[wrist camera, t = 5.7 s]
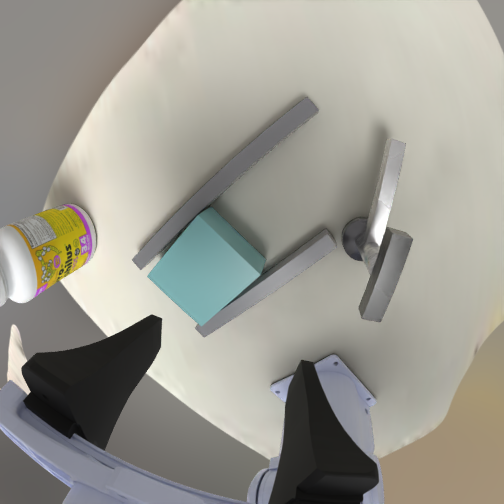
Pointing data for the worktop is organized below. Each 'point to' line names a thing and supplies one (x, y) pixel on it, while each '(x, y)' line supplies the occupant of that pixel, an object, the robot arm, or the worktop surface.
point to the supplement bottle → (43, 251)
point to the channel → (215, 188)
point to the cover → (207, 267)
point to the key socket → (353, 236)
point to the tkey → (394, 241)
